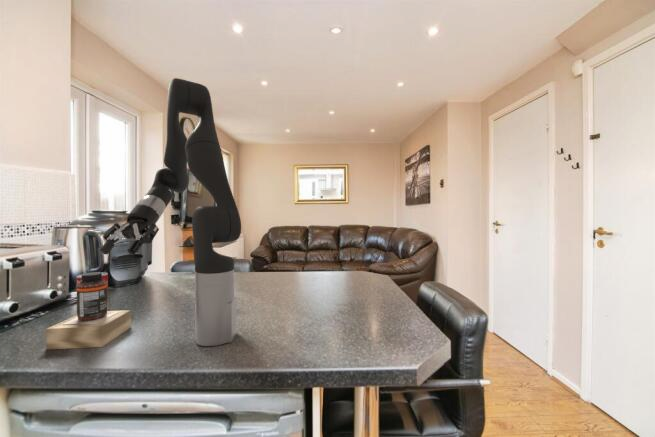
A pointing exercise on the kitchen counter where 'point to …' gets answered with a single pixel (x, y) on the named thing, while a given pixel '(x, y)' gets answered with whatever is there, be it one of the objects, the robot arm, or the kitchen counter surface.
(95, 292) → the supplement bottle
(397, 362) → the kitchen counter surface
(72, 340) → the oak plinth
